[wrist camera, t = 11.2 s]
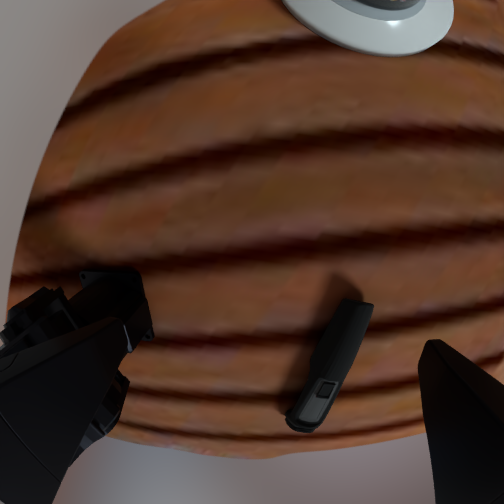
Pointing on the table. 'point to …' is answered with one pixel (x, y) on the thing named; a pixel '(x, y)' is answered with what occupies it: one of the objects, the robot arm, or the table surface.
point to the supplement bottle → (390, 4)
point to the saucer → (375, 25)
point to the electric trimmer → (330, 365)
